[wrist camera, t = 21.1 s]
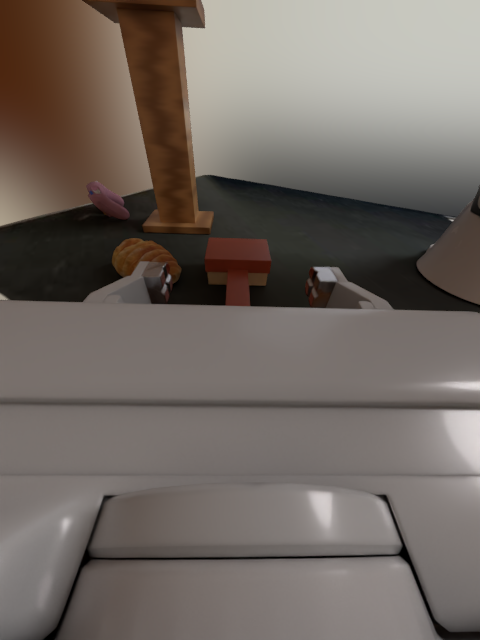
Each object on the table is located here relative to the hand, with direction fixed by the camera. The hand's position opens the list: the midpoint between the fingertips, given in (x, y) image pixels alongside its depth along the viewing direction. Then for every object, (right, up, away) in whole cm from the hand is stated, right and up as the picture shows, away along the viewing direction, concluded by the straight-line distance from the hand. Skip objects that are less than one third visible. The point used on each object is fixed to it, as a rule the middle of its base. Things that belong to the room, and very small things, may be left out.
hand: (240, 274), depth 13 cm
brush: (0, 0, +15) cm, 14 cm away
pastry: (-12, +4, +18) cm, 22 cm away
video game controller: (-27, +19, +33) cm, 47 cm away
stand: (-11, +16, +31) cm, 36 cm away
